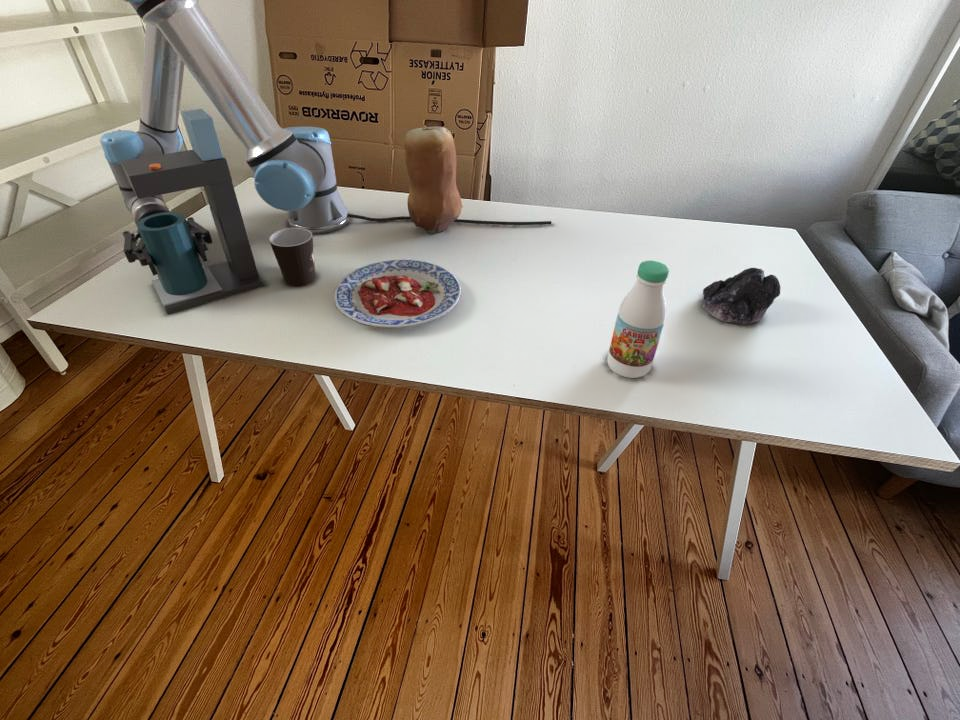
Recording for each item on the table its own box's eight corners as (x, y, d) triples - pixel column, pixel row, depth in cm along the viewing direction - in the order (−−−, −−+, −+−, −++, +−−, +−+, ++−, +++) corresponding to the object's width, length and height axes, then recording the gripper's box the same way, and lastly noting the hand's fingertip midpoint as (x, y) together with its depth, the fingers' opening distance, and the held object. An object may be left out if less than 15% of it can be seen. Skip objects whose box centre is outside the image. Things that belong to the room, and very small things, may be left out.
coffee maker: (153, 285, 110) (81, 119, 89) (244, 261, 119) (198, 105, 98) (167, 314, 102) (91, 139, 81) (264, 285, 111) (218, 121, 90)
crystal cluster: (686, 311, 108) (702, 272, 101) (713, 282, 115) (729, 244, 108) (749, 341, 102) (771, 302, 95) (773, 308, 110) (795, 270, 102)
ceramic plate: (331, 340, 97) (329, 327, 95) (338, 271, 116) (336, 259, 114) (468, 330, 100) (469, 317, 98) (453, 264, 120) (453, 253, 118)
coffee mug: (309, 291, 109) (300, 248, 103) (272, 286, 111) (260, 243, 104) (332, 265, 118) (325, 224, 112) (297, 260, 119) (288, 220, 113)
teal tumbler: (212, 273, 111) (190, 211, 102) (200, 294, 105) (176, 230, 96) (172, 275, 110) (146, 212, 101) (157, 296, 104) (129, 231, 95)
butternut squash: (422, 215, 140) (417, 116, 124) (469, 223, 137) (470, 123, 121) (399, 236, 130) (391, 132, 114) (449, 246, 127) (447, 139, 111)
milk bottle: (601, 352, 96) (622, 255, 83) (642, 351, 96) (669, 254, 84) (613, 380, 90) (638, 279, 77) (656, 378, 90) (688, 278, 78)
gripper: (210, 224, 121) (240, 264, 107) (107, 248, 111) (125, 295, 97) (200, 193, 116) (230, 230, 102) (91, 214, 106) (107, 259, 92)
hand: (178, 261), depth 100 cm, fingers closed on teal tumbler, 8 cm apart
